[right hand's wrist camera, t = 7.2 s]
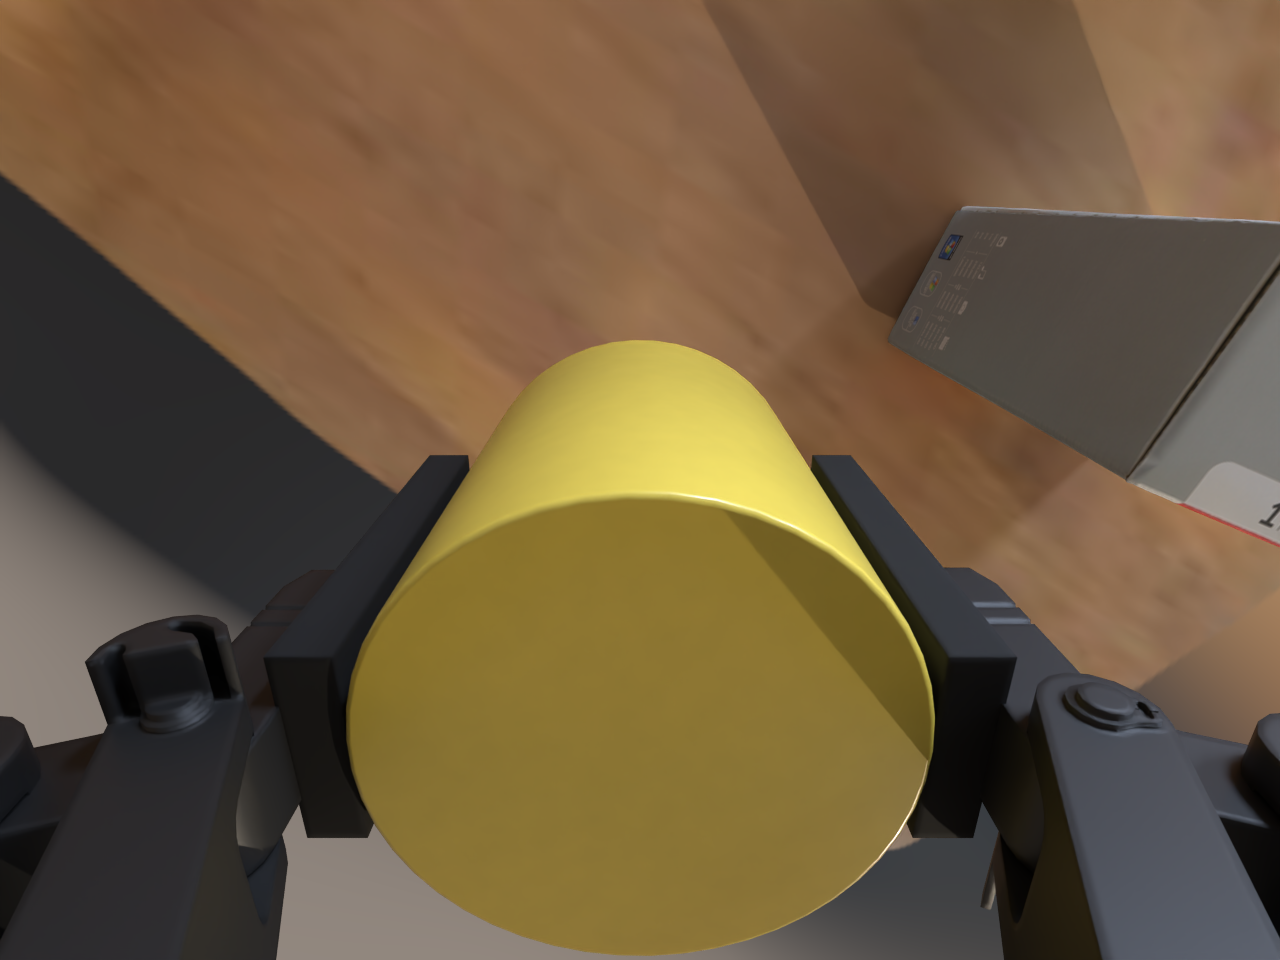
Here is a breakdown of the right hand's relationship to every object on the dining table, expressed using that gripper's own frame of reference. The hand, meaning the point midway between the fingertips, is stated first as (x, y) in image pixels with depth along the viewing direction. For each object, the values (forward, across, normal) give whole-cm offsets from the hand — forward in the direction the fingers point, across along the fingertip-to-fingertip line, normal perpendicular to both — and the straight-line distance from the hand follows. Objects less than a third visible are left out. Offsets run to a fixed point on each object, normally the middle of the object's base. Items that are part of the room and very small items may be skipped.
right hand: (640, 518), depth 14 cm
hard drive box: (+25, +22, -1) cm, 33 cm away
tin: (+1, 0, 0) cm, 1 cm away
